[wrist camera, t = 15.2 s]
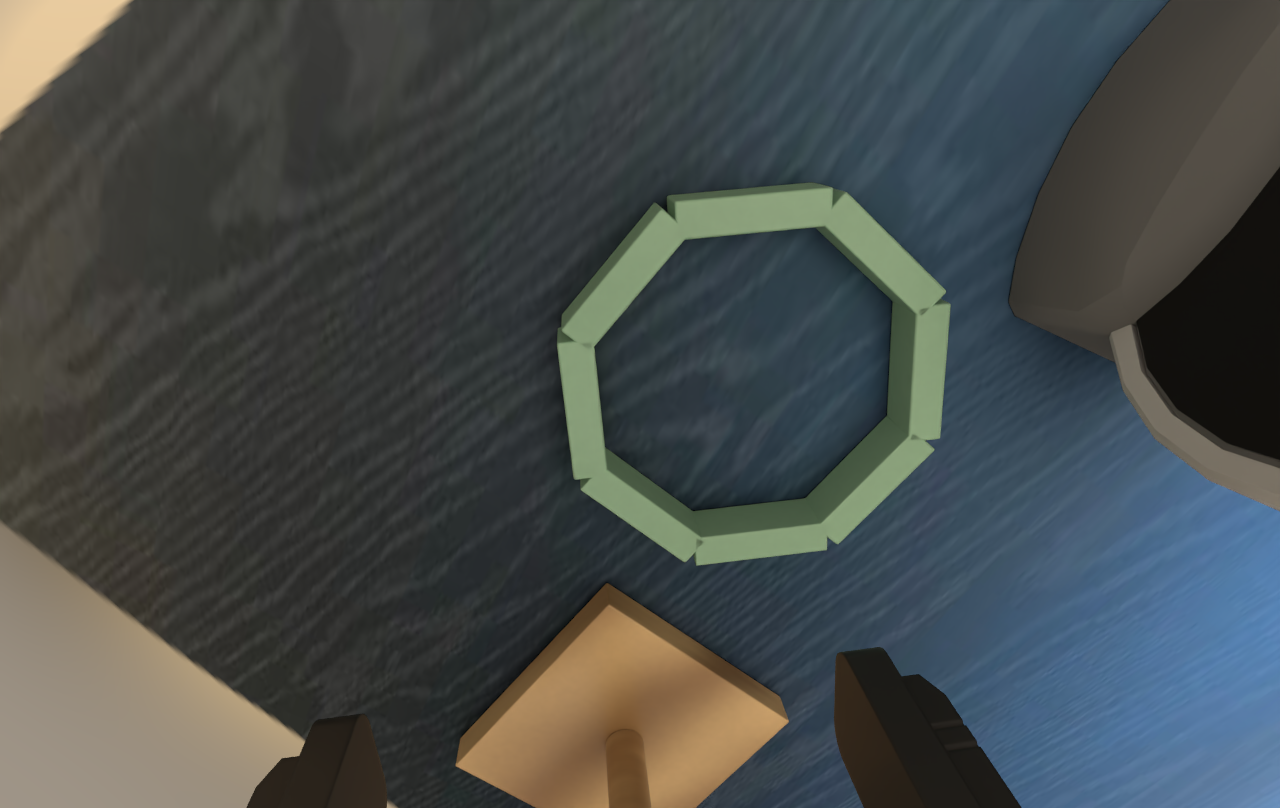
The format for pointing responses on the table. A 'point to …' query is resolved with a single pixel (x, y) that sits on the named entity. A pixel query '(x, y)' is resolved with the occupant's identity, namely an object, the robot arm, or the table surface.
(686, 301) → the table surface
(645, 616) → the peg stand
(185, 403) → the table surface
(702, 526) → the hoop
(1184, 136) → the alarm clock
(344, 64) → the table surface
